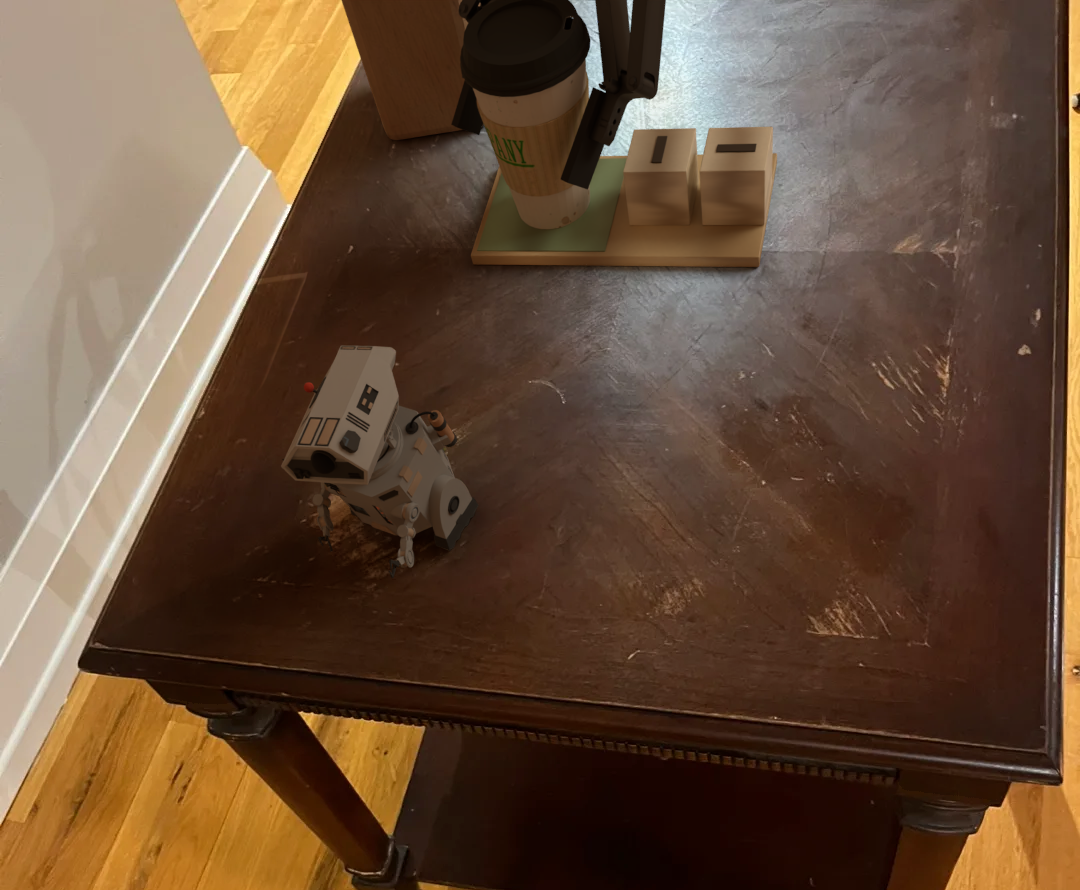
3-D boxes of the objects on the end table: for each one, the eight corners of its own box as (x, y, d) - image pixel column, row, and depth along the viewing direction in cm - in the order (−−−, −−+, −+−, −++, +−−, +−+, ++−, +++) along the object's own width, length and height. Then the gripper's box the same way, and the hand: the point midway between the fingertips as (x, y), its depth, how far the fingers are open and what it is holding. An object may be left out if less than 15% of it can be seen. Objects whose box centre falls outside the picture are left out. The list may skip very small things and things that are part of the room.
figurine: (313, 576, 81) (226, 444, 68) (392, 460, 84) (324, 312, 71) (414, 617, 78) (344, 486, 64) (492, 494, 81) (440, 346, 68)
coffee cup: (507, 166, 96) (466, -9, 82) (618, 160, 93) (595, -22, 80) (488, 247, 91) (442, 76, 78) (603, 242, 89) (577, 66, 76)
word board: (777, 163, 91) (778, 94, 86) (759, 267, 87) (759, 201, 81) (503, 167, 97) (489, 103, 92) (472, 264, 92) (455, 203, 87)
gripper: (788, -107, 74) (656, 221, 84) (538, -184, 84) (448, 117, 94) (736, -155, 68) (601, 203, 78) (474, -232, 78) (386, 95, 88)
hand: (518, 156), depth 86 cm, fingers open, 12 cm apart
